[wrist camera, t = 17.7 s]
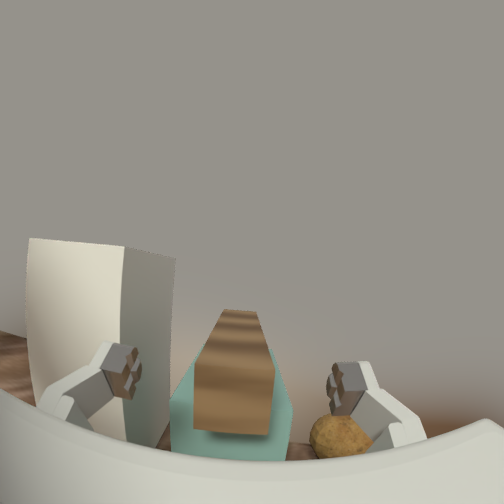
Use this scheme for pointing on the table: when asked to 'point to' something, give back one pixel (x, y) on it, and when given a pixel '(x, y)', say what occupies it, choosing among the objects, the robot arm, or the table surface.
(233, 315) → the rail
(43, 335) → the stand
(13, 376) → the table surface
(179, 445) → the teal box
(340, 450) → the potato
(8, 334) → the table surface
